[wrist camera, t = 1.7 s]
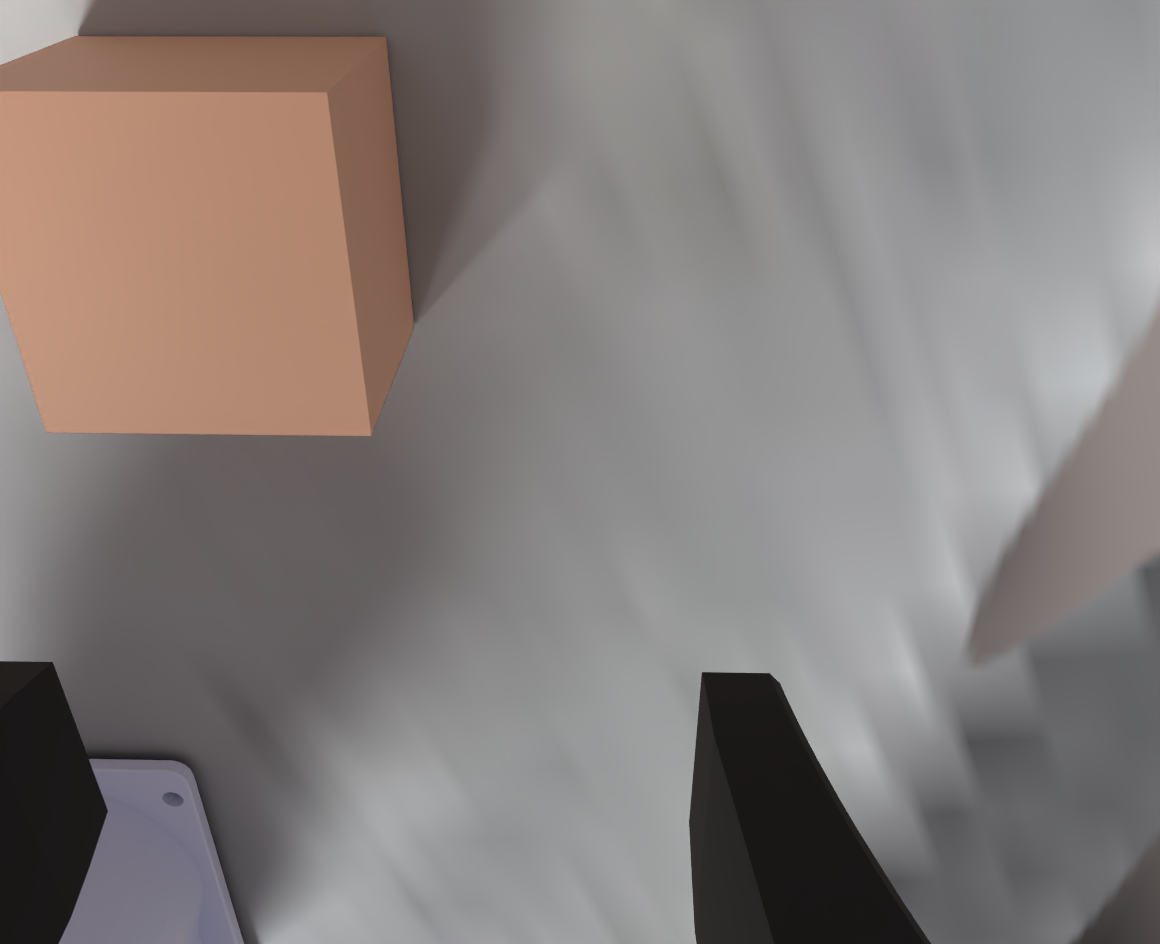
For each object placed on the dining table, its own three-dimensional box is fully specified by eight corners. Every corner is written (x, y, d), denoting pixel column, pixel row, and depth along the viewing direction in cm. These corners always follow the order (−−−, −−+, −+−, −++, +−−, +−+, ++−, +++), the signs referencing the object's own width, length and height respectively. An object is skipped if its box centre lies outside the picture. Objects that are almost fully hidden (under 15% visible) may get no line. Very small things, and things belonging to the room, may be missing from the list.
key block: (414, 327, 19) (371, 435, 15) (146, 324, 19) (45, 432, 16) (386, 36, 16) (326, 92, 13) (75, 36, 16) (-65, 90, 13)
